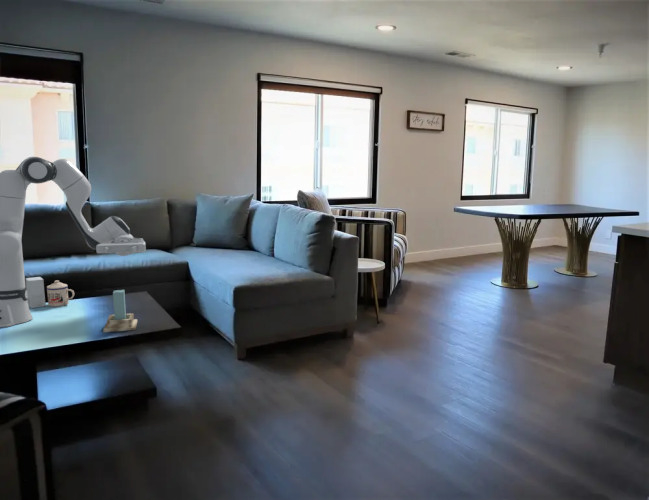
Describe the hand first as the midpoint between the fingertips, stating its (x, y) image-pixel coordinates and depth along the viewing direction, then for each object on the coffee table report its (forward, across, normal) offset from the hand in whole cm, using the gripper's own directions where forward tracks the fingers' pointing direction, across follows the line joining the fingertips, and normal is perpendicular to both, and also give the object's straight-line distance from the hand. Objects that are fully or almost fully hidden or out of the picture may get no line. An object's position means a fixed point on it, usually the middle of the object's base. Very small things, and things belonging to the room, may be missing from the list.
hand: (119, 250), depth 216 cm
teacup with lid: (-33, -31, +30) cm, 54 cm away
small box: (-34, -42, +30) cm, 62 cm away
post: (+12, 0, +29) cm, 31 cm away
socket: (+12, 0, +30) cm, 32 cm away
